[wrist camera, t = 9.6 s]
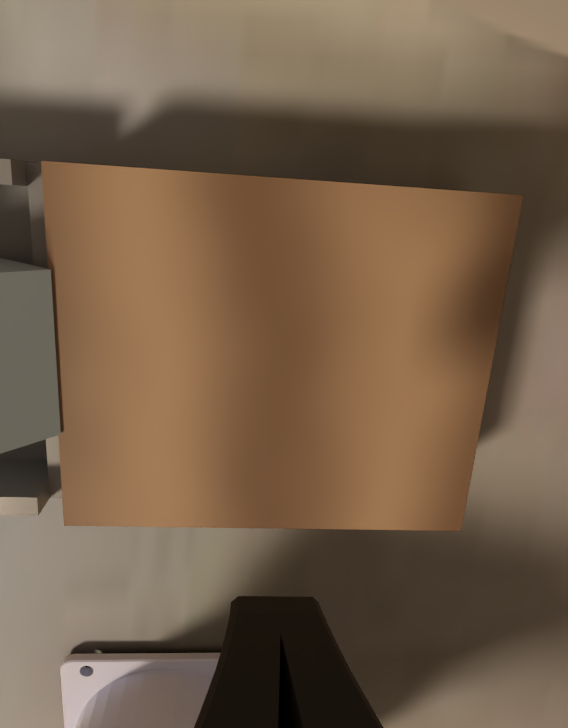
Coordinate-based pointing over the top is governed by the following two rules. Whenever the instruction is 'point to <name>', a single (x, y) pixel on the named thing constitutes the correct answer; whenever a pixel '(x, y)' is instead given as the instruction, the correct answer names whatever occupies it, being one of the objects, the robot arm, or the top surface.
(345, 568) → the top surface
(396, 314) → the walnut plate
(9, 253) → the bin
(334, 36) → the top surface
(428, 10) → the top surface
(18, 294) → the tile slate
